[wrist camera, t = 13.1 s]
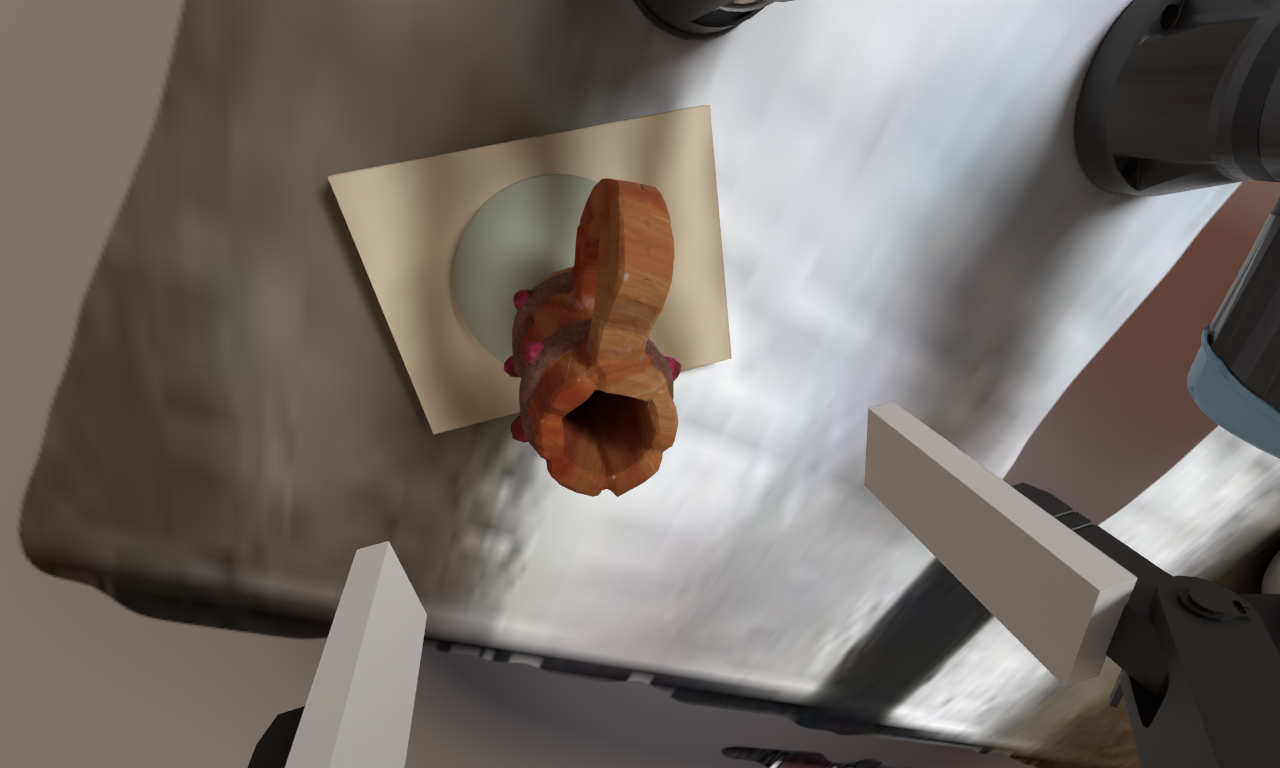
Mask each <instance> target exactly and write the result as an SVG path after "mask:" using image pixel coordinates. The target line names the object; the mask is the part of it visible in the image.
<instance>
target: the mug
mask: <svg viewBox="0 0 1280 768" xmlns="http://www.w3.org/2000/svg"><path fill="white" fill-rule="evenodd" d="M673 263H674V238H673V234H672V229H671V222H670V216H669V213H668V209H667V206H666V203H665V201H664V199H663V197H662V194H661V193H660V192H659V191H658V189H657V188H656V187H653V186H649V185H645V184H639V183H635V182H629V181H623V180H616V179H608V178H605V179H601V180H600V181H599V182H598V183H597V184H596V185H595V186H594V187H593V189H592V191H591V193H590V196H589V198H588V200H587V202H586V205H585V207H584V210H583V213H582V216H581V218H580V224H579V226H578V227H577V234H576V247H575V261H574V266H573V267H569V268H566V269H563V270H561V271H558V272H553V273H552V274H550V275H549V276H548V277H546V278H545V279H543V280H542V281H541V282H540V283H539V284H538V285H537V286H535V287H534V288H533V289H532V290H527V289H526V290H520V291H518V292H516V293H515V295H514V297H513V302H514V305H515V307H516V309H517V310H518V311H517V313H516V315H515V319H514V324H513V328H512V353H513V355H512V356H510V357H509V358H508V359H507V360H506V361H505V362H504V371H505V372H506V373H507V374H508V375H509V376H510V377H518V378H521V382H520V387H519V405H520V416H518V417H517V418H516V419H515V420H514V421H513V423H512V424H511V432H512V435H513V437H512V438H513V439H515V440H518V441H521V442H529V443H530V444H531V445H532V447H533V448H534V449H535V450H536V451H537V452H538V454H539V455H540V457H541V458H544V459H545V460H546V462H547V469H548V471H549V473H550V475H551V476H552V477H553V478H554V479H555V480H556V481H557V482H558V483H559V484H560V485H561V486H564V487H566V488H568V489H570V490H572V491H574V492H577V493H581V494H585V495H589V496H598V495H599V494H600V492H601V491H602V490H605V489H609V490H611V491H612V492H613V493H614V494H615V495H616V496H617V497H619V496H620V495H622V494H624V493H626V492H627V491H629V490H631V489H633V488H635V487H637V486H639V485H640V484H642V483H644V482H645V481H646V480H648V479H649V478H650V477H651V476H653V475H654V474H655V473H656V472H657V471H658V469H659V467H660V463H661V460H662V453H663V452H664V451H665V450H666V449H668V448H669V447H671V446H672V445H673V443H674V440H675V436H676V432H677V426H678V417H677V410H676V407H675V404H674V402H673V381H674V380H675V379H676V378H677V377H678V375H679V373H680V370H681V364H680V363H679V362H678V361H677V360H675V359H674V358H672V357H665V356H663V355H662V354H661V353H660V351H659V350H658V348H657V347H656V346H655V344H654V343H653V342H652V341H651V340H650V339H649V338H648V337H649V334H650V331H651V329H652V327H653V325H654V324H655V322H656V320H657V318H658V317H659V315H660V313H661V311H662V309H663V307H664V304H665V301H666V298H667V295H668V292H669V289H670V286H671V283H672V275H673Z"/></svg>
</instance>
